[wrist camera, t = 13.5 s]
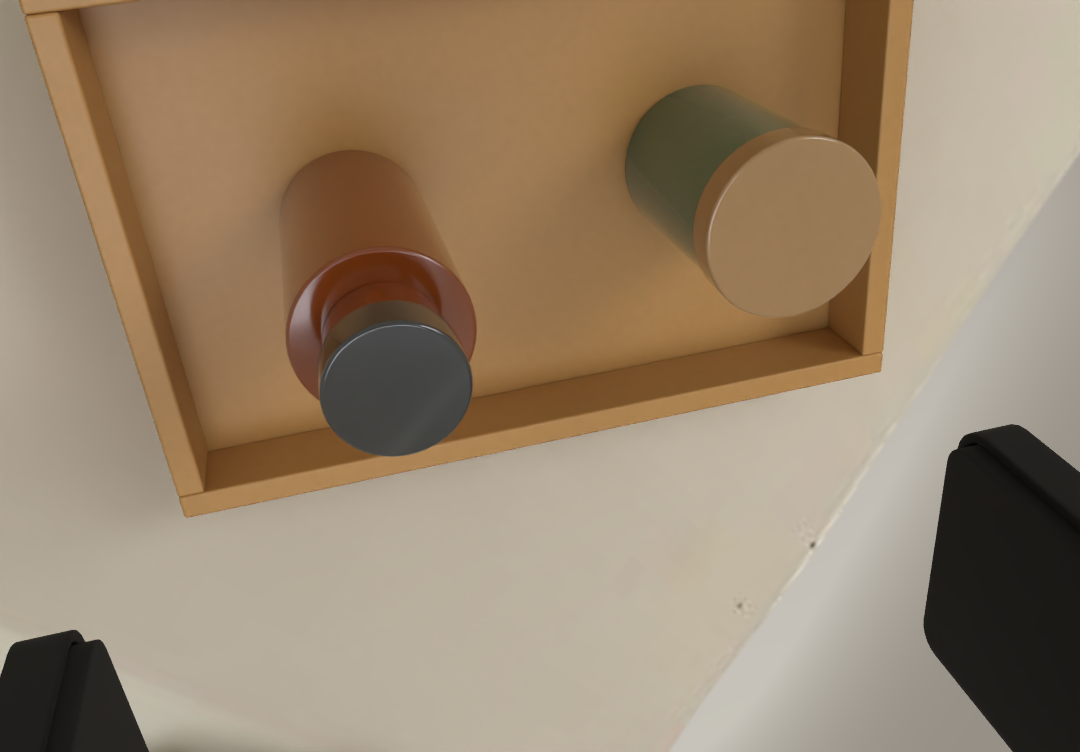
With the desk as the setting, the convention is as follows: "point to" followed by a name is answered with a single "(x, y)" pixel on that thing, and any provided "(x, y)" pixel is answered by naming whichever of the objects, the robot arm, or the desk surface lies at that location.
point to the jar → (754, 199)
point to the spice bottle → (374, 305)
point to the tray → (448, 203)
